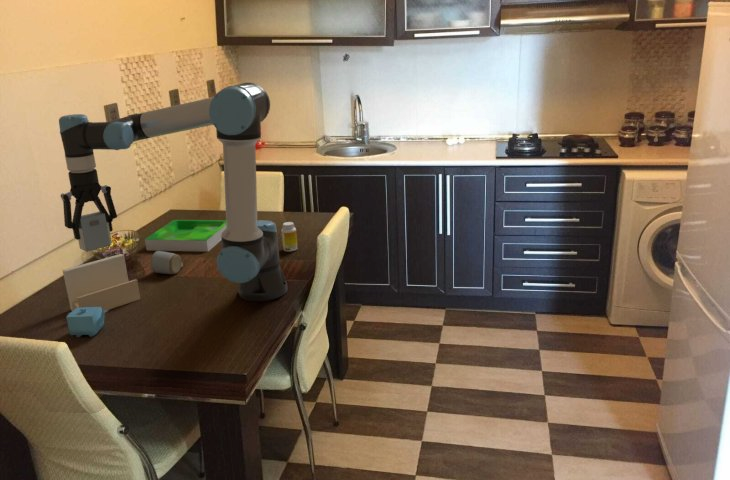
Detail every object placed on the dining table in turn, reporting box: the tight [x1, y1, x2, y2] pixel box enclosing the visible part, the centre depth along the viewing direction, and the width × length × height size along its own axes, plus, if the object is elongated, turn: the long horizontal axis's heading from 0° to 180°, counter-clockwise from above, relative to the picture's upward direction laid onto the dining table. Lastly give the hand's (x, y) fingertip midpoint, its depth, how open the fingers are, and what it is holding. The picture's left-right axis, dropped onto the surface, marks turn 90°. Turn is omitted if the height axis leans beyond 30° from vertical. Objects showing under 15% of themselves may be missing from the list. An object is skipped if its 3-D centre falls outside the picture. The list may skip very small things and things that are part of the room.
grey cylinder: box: [150, 251, 184, 275], centre depth 215 cm, size 11×8×8 cm
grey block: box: [79, 211, 111, 253], centre depth 183 cm, size 4×7×10 cm, turn 134°
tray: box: [144, 219, 227, 253], centre depth 247 cm, size 25×25×5 cm
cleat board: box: [62, 253, 141, 312], centre depth 189 cm, size 9×18×13 cm, turn 134°
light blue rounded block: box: [65, 307, 110, 338], centre depth 173 cm, size 12×6×8 cm, turn 90°
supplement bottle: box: [280, 221, 299, 252], centre depth 231 cm, size 6×6×10 cm
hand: (96, 245), depth 185 cm, fingers closed on grey block, 7 cm apart
